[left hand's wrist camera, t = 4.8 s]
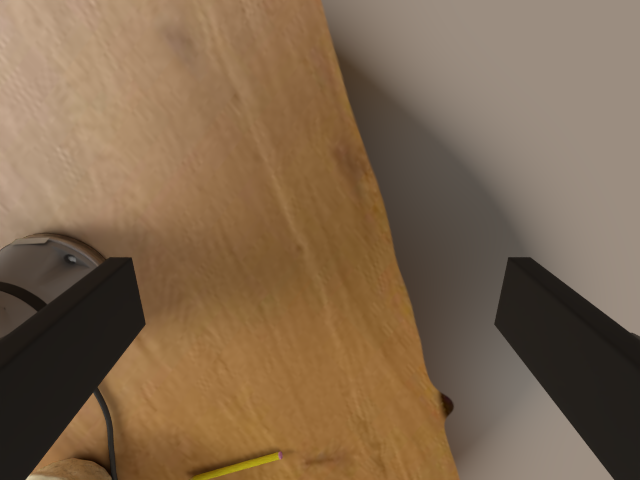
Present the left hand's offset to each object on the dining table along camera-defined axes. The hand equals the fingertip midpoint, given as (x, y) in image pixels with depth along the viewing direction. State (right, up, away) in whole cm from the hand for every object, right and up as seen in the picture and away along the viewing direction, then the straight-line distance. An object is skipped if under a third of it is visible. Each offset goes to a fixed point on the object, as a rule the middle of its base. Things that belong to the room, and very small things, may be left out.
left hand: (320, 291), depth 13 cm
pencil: (-14, -34, +44) cm, 57 cm away
